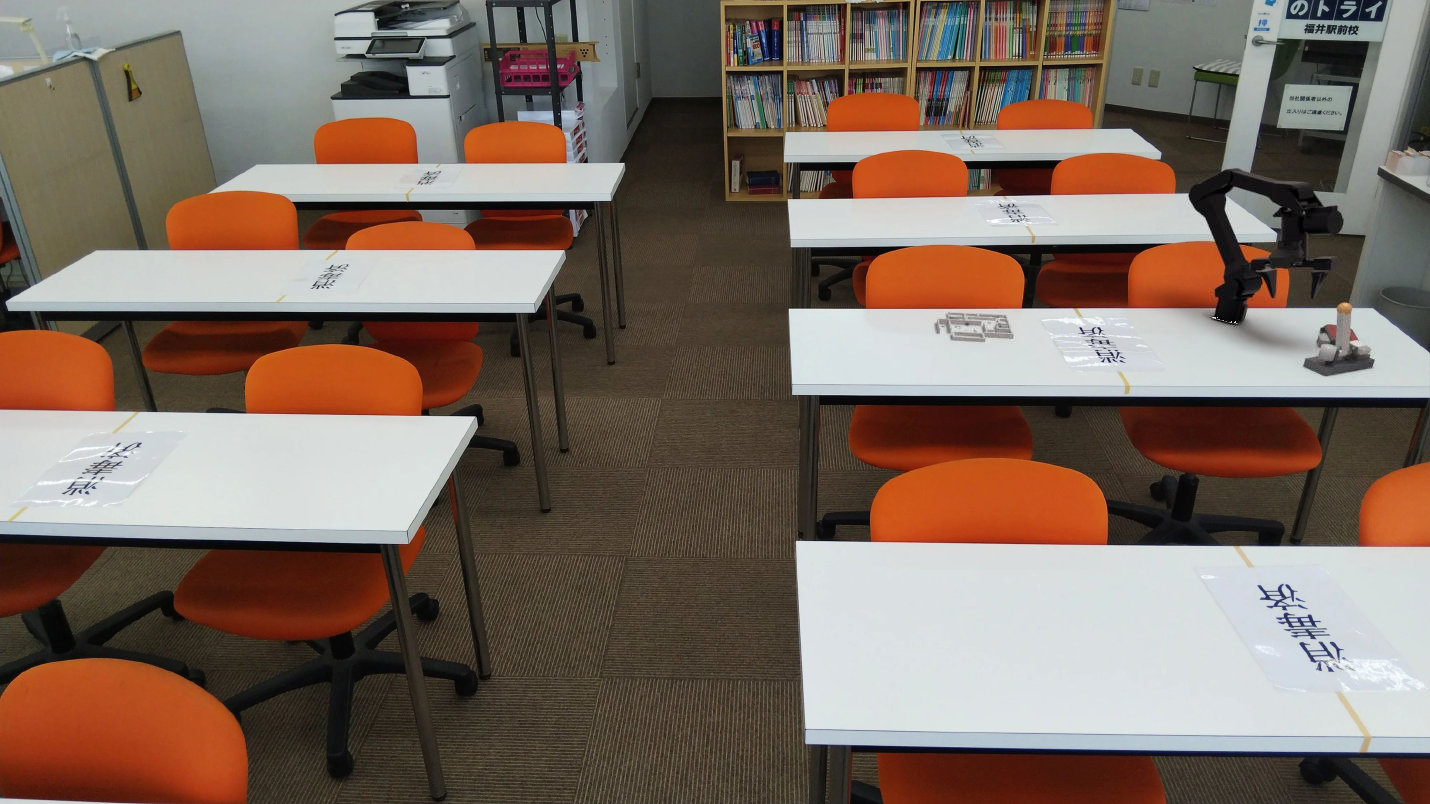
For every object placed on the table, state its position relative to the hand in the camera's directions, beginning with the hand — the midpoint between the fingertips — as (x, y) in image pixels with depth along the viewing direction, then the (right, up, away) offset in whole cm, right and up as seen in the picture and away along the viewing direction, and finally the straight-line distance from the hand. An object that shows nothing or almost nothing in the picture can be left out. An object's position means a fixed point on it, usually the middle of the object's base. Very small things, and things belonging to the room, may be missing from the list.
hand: (1292, 298), depth 236 cm
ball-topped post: (+5, -14, -12) cm, 19 cm away
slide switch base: (+4, -17, -10) cm, 20 cm away
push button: (0, -16, -12) cm, 20 cm away
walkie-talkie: (+12, -12, +2) cm, 17 cm away
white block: (+9, -13, -10) cm, 19 cm away
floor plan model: (-77, -8, +9) cm, 78 cm away
